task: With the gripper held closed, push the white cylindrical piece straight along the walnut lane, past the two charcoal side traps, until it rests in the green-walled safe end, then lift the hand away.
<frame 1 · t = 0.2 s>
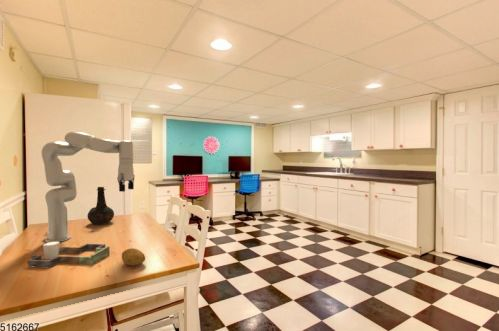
hand: (126, 190, 155), 31 cm above the table, tool pointing down, fingers open, 9 cm apart
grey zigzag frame: (71, 257, 132), on the table
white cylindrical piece: (51, 257, 133), resting in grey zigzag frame
potato: (132, 264, 124), on the table
glass bottle: (101, 223, 199), on the table
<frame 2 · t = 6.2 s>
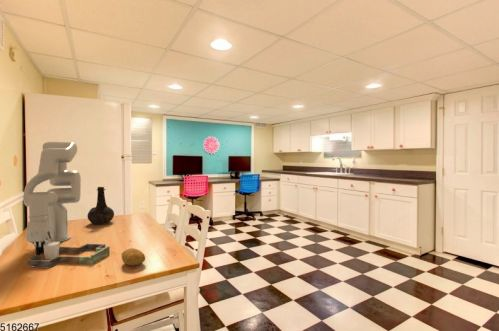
hand: (40, 253, 133), 1 cm above the table, tool pointing down, fingers closed
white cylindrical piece: (51, 257, 133), resting in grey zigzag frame, touching gripper
everything else where it was.
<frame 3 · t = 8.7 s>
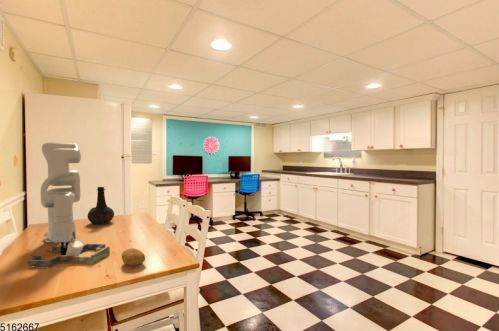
hand: (64, 254, 132), 2 cm above the table, tool pointing down, fingers closed
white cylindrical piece: (72, 255, 132), point 1 cm above the table, touching gripper
everything else where it was.
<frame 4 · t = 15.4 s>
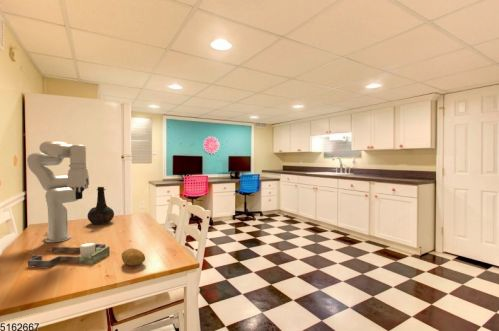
hand: (79, 198, 147), 27 cm above the table, tool pointing down, fingers closed
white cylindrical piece: (88, 258, 131), resting in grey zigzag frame
everything else where it was.
at the end: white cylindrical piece inside the target area on the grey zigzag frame (2.7 cm from its centre), point 0.0 cm above the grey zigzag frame's base; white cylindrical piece tilted 0° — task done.
